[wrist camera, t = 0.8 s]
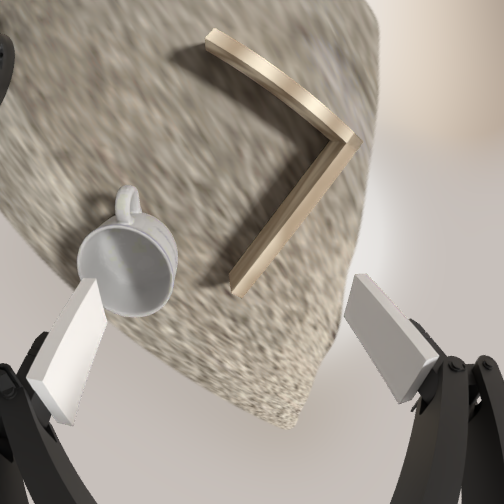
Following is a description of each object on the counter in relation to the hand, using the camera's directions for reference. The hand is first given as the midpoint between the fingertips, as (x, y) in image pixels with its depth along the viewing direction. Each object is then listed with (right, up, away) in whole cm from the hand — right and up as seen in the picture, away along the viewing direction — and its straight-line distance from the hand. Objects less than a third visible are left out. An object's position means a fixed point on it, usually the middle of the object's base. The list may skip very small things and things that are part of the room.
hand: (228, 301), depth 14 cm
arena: (-2, +12, +17) cm, 21 cm away
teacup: (-12, +5, +19) cm, 23 cm away
